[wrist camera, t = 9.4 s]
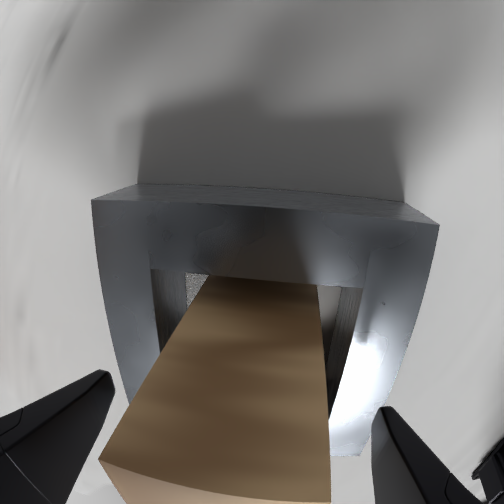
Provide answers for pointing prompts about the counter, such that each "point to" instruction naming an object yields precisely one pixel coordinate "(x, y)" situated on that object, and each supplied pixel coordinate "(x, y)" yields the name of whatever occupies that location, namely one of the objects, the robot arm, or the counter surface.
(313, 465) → the oak peg
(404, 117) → the counter surface
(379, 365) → the block
